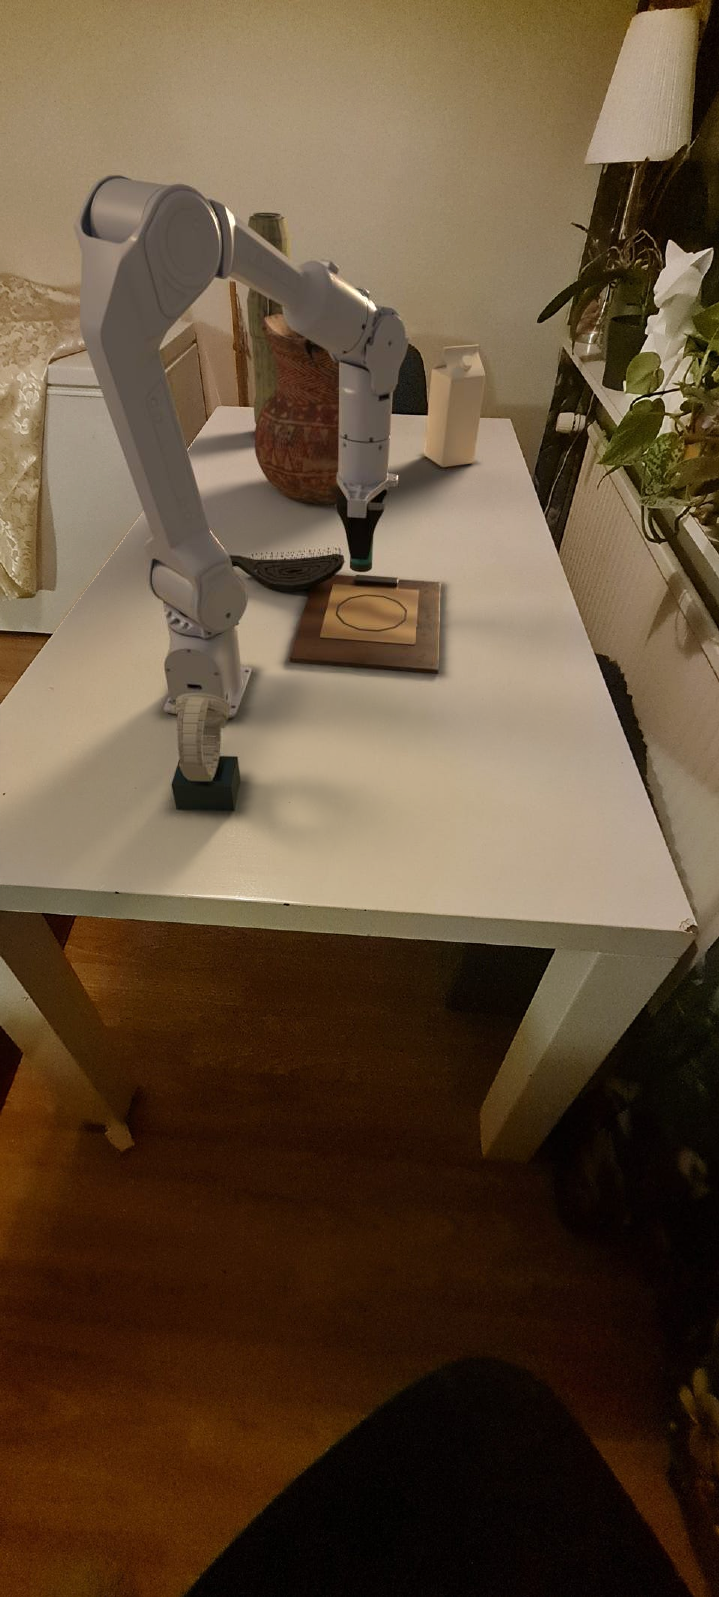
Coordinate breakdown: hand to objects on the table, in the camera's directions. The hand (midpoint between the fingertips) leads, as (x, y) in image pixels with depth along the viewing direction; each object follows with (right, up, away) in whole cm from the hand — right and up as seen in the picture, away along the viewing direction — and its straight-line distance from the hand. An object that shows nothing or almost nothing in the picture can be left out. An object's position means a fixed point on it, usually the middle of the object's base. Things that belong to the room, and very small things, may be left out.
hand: (360, 551), depth 87 cm
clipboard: (+1, -7, +6) cm, 9 cm away
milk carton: (+17, +35, +50) cm, 63 cm away
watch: (-15, -30, -18) cm, 38 cm away
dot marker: (0, -1, +1) cm, 2 cm away
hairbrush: (-15, +1, +13) cm, 20 cm away
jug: (-8, +24, +37) cm, 45 cm away
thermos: (-17, +44, +57) cm, 74 cm away
